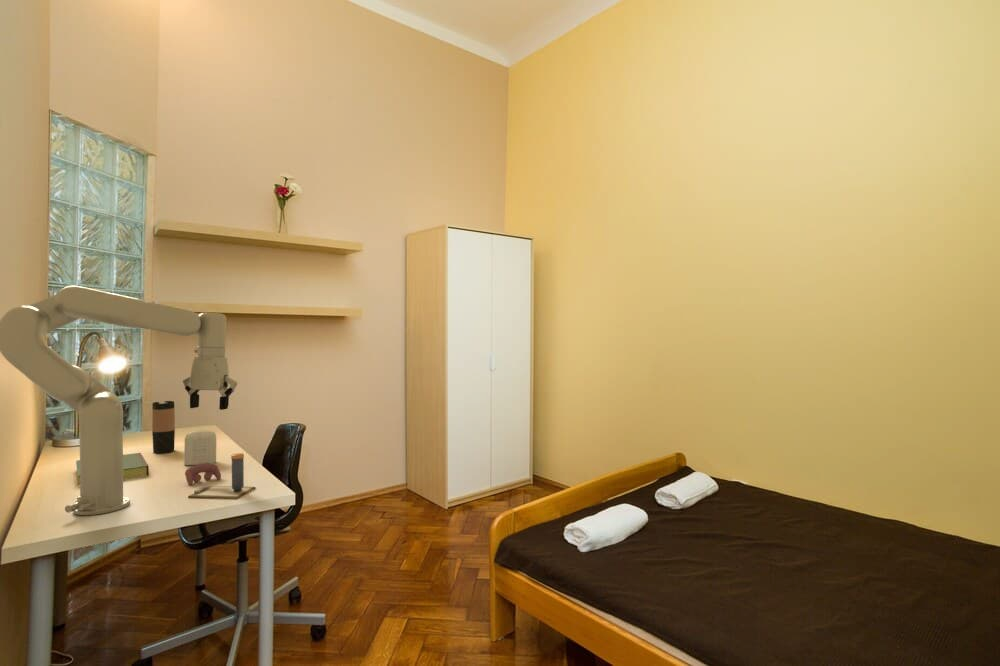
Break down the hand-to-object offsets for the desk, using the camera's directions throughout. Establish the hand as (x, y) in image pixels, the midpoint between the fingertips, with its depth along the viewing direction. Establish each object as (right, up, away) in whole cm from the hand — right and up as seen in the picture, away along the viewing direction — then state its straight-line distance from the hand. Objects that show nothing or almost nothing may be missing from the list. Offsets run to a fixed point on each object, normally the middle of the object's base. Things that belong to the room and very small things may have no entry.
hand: (208, 408), depth 161 cm
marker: (+10, -25, -2) cm, 27 cm away
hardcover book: (-45, -26, +20) cm, 56 cm away
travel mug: (-46, -25, +50) cm, 73 cm away
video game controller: (-7, -26, +10) cm, 28 cm away
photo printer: (-21, -25, +31) cm, 45 cm away
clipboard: (+6, -25, -3) cm, 26 cm away
